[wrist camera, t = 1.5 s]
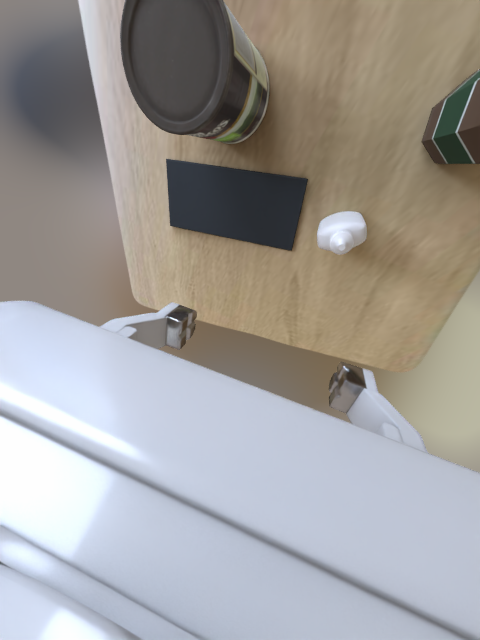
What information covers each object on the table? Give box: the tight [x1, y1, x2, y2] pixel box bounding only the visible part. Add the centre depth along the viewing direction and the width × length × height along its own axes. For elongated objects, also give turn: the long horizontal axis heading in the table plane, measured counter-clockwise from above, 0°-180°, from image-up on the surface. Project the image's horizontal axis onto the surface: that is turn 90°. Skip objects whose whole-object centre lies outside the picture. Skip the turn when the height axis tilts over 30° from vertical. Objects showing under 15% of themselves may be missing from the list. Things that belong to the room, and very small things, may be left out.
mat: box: [166, 159, 308, 250], centre depth 38 cm, size 10×22×1 cm, turn 83°
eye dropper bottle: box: [317, 211, 367, 254], centre depth 30 cm, size 4×6×12 cm
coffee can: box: [120, 0, 269, 144], centre depth 26 cm, size 10×10×14 cm
